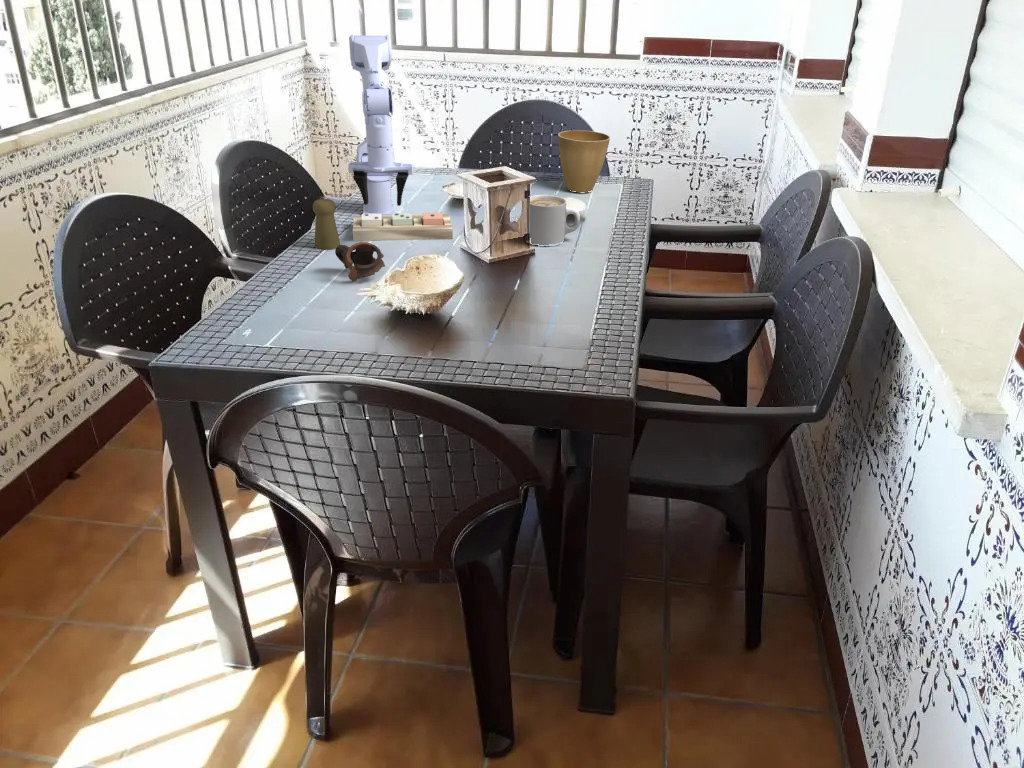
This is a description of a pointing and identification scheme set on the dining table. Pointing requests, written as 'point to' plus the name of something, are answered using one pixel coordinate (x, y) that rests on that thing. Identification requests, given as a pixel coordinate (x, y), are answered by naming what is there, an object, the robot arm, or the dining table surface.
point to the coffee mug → (550, 219)
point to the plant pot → (582, 158)
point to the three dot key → (402, 219)
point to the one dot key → (432, 219)
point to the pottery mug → (360, 259)
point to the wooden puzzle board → (402, 229)
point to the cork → (325, 225)
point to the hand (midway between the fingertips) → (382, 204)
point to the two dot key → (371, 220)
